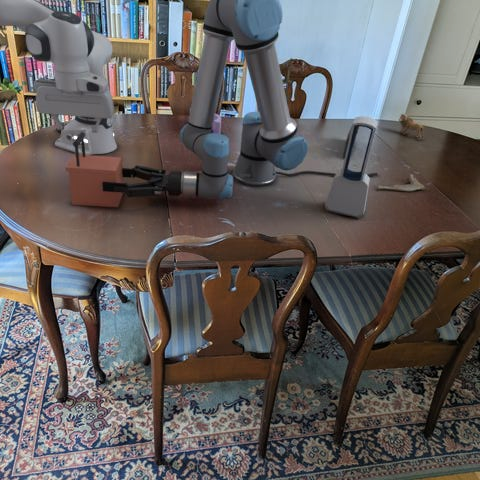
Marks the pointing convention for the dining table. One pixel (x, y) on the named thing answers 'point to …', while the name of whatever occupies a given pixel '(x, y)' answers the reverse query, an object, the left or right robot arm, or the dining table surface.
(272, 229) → the dining table surface
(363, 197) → the electronic device
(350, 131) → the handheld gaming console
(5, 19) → the left robot arm
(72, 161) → the lid
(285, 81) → the miniature windmill
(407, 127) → the lion figurine
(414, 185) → the jawbone
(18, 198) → the dining table surface
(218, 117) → the clip
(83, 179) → the chest
